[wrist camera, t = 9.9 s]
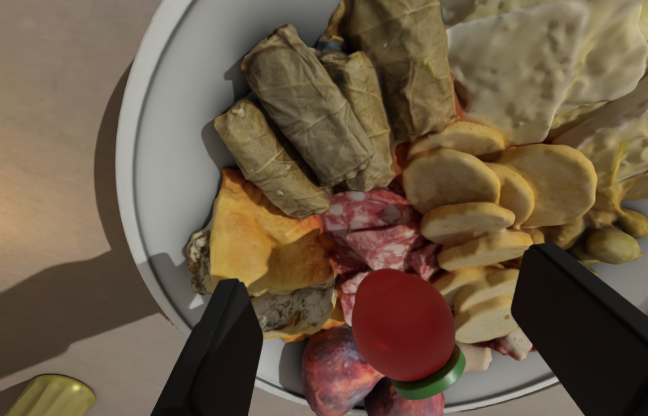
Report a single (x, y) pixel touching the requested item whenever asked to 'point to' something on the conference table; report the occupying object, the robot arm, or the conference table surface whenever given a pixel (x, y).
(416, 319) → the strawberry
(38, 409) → the vase
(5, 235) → the conference table surface
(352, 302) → the bowl
